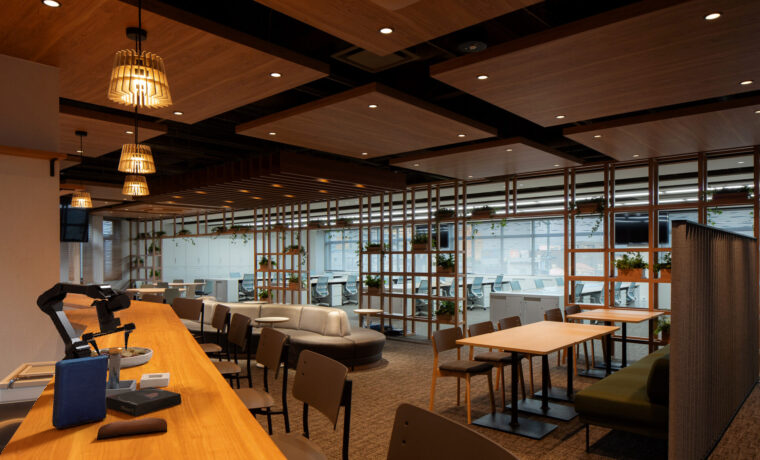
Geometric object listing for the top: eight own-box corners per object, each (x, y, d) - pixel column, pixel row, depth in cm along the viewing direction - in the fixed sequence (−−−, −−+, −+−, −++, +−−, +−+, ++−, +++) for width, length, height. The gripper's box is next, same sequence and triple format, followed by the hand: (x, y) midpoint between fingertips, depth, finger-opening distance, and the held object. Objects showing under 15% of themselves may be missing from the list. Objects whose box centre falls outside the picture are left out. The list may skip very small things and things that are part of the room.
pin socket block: (139, 387, 190) (140, 379, 190) (142, 381, 200) (143, 374, 200) (168, 386, 194) (168, 378, 194) (169, 380, 203) (169, 372, 203)
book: (102, 416, 156) (105, 352, 157) (109, 420, 152) (112, 354, 154) (49, 428, 145) (53, 358, 146) (56, 432, 141) (60, 361, 142)
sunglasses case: (166, 423, 151) (167, 407, 148) (166, 441, 145) (168, 425, 142) (99, 430, 143) (99, 413, 141) (96, 450, 138) (96, 433, 135)
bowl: (84, 359, 240) (85, 342, 241) (152, 355, 253) (153, 339, 253) (75, 372, 213) (76, 354, 214) (152, 367, 226) (153, 350, 226)
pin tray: (87, 401, 171) (88, 391, 171) (95, 391, 184) (96, 381, 184) (131, 398, 176) (131, 388, 176) (135, 388, 189) (136, 379, 189)
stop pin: (103, 393, 178) (106, 348, 179) (112, 390, 183) (115, 346, 184) (113, 394, 177) (116, 349, 178) (122, 391, 182) (125, 347, 183)
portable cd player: (181, 405, 171) (181, 393, 171) (135, 418, 156) (135, 405, 157) (151, 397, 179) (152, 386, 180) (105, 409, 165) (106, 396, 165)
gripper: (77, 319, 185) (85, 360, 183) (132, 307, 195) (140, 346, 193) (78, 321, 195) (86, 360, 193) (131, 309, 204) (138, 347, 202)
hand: (113, 353), depth 195 cm, fingers open, 9 cm apart
